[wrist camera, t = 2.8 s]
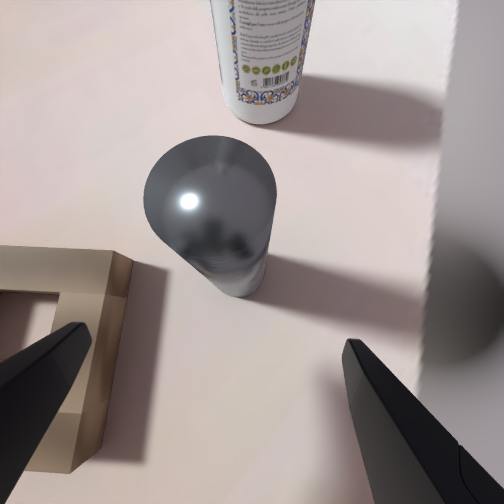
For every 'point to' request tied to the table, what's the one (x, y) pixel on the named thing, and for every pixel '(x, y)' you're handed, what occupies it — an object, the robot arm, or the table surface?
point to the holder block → (100, 327)
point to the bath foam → (261, 54)
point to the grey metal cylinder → (215, 209)
